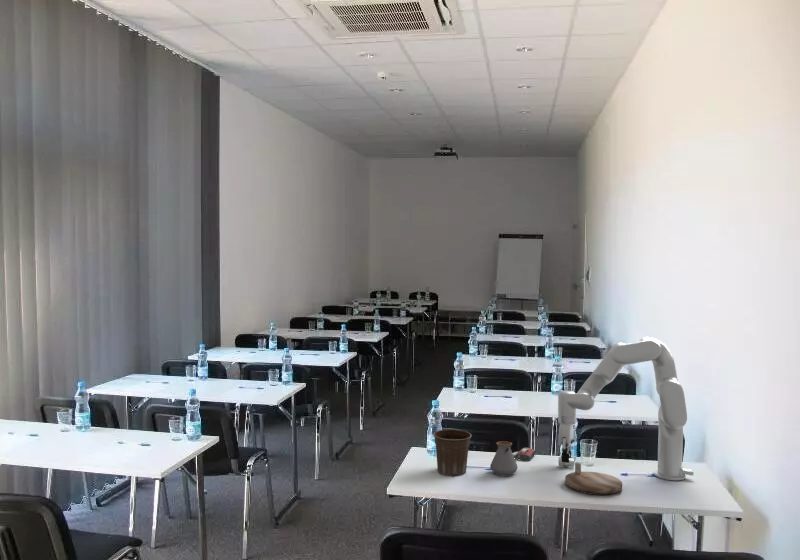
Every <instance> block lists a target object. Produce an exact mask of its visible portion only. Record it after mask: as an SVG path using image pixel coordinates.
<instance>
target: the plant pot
mask: <svg viewBox="0 0 800 560" xmlns="http://www.w3.org/2000/svg"><path fill="white" fill-rule="evenodd" d="M433 437H434V444H435V451H436V453H435V454H436V465H437V467H436V469H437V471H438V473H439V474H441V475H443V476H447V475H448V476H449V477H454V476H455V475H456V476H457V477H458V476H462V475H465V474H466V473H467V465H468V457H469V456H468V454H469V448H470V447H469V446H470V444H471V438H472V433H470V432H468V431H466V430H461V429H453V428H452V429H449V428H448V429H439V430H436V431H434V432H433Z"/></svg>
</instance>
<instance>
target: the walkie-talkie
mask: <svg viewBox="0 0 800 560" xmlns="http://www.w3.org/2000/svg"><path fill="white" fill-rule="evenodd" d="M512 454H513V456H514V458H515V460H516V459H517V461H523V460H524V462H530V461H531V460H532V459H533V458H534V457H535V456H536V450H535V448H529V447H522V448H521V449H520V450H519V451H514V452H512ZM534 455H535V456H534ZM518 459H520V460H518Z"/></svg>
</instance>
